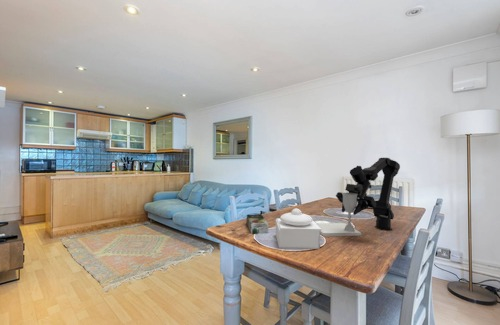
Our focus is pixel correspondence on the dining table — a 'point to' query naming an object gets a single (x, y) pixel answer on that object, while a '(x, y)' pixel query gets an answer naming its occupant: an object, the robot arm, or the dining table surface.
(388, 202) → the robot arm
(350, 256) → the dining table surface
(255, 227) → the juice carton
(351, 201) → the chalice
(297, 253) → the dining table surface
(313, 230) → the butter dish
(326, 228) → the platter
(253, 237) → the dining table surface
